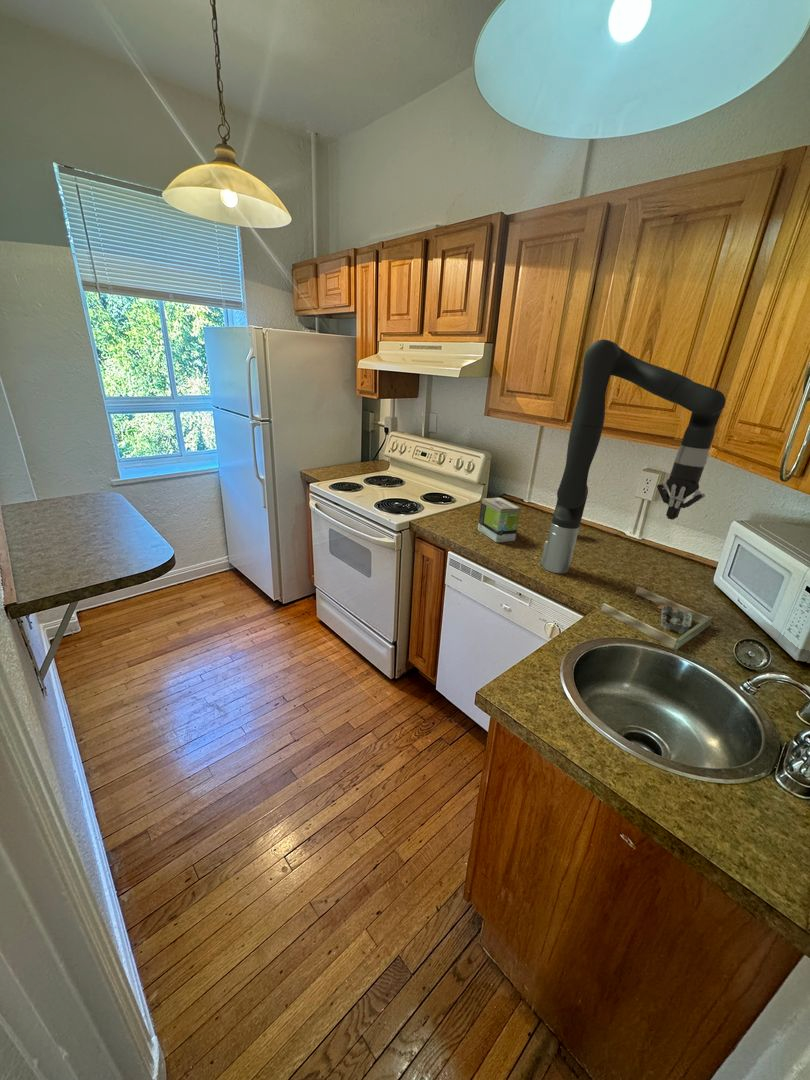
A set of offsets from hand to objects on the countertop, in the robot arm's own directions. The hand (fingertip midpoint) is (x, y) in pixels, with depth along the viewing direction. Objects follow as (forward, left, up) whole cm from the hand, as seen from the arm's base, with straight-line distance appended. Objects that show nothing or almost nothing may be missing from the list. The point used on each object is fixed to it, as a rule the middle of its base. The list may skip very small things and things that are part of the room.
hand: (671, 518), depth 128 cm
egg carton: (+13, -10, -28) cm, 32 cm away
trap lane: (+8, -12, -27) cm, 31 cm away
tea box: (-61, -6, -27) cm, 67 cm away
